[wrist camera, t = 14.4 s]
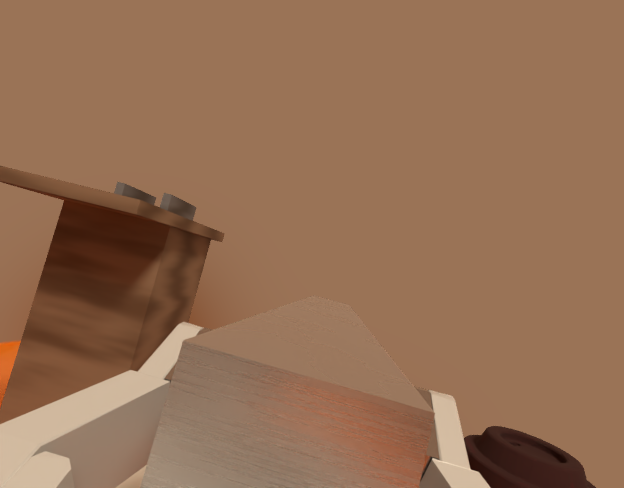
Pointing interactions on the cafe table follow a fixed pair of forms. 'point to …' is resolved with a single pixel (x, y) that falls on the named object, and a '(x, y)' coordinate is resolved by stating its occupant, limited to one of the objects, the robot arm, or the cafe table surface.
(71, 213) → the walnut stand
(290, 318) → the brushed metal block
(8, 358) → the cafe table surface
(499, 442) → the coffee cup
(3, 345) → the cafe table surface
